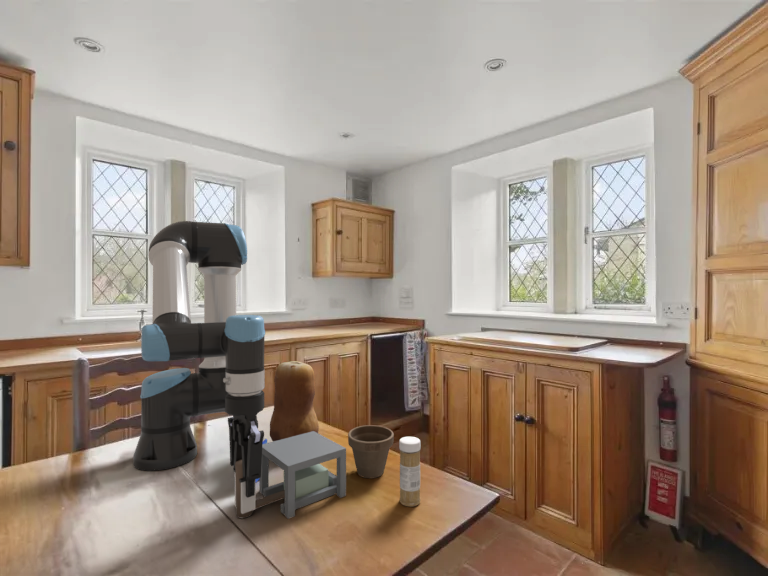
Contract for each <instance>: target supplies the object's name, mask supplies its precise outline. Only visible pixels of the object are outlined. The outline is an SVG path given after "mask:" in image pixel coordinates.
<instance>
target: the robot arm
mask: <svg viewBox="0 0 768 576" xmlns="http://www.w3.org/2000/svg"><path fill="white" fill-rule="evenodd" d="M246 239H247V238H246V235H245V233H244V230H243V229H242V227H241V226H239V225H237V224H236V225H235V224H229V223H226V222H224V223H222V222H204V221H192V220H191V221H190V220H183V221H182V220H181V221H176V222H173V223H170V224H168V225H167V226H165V227H164V228H162V229H160V230H159V231H158V233H157V234H155V235H154V236H153V238H152V240H151V242H150V244H149V246H148V255H147V256H148V261H149V263H150V264H151V266H152V319H151V320H152V321H151V322H152V324H146V325H144V326H142V328H141V340H140V341H141V342H140V345H141V346H140V348H141V349H140V350H141V352H140V353H141V358H142V360H143V361H146V362H168V361H179V360H190V359H191V360H193V359H203V361H202V362H201V363H200V364H198V372H195V373H194V372H193V373H192V371H191V370H190V369H191V368H187V367H182V368H179V367H178V368H171V369H167V370H162V371H159V372H156V373H153V374H150V375H148V376H147V377H145V378H144V379H143V380H142V382H141V392H140V395H139V396H140V397H139V398H140V399H141V406H140V407H141V412H140V413H141V414H140V418H141V419H140V423H141V424H140V429H141V430H140V436H139V438H138V442H137V444H136V448H135V450H134V452H133V457H132V459H133V460H132V462H133V463H132V466H133V467H134V468H135V469H137V470H140V471H147V472H148V471H151V472H152V471H162V470H169V469H173V468H177V467H178V466H182V465H184V464H187V463H188V462H191V461H192V460H194V459H195V458H196V457H197V455H198V445H197V442H196V439H195V436H194V433H193V430H192V428H191V417H199V416H204V415H212V414H217V413H220V414H221V413H226V414H227V415H229V416H230V417H227V424H228V438H229V463H230V464H229V465H230V466H231V467H232V470H233V473H234V507H236V473H235V463H236V461H238V460H240V459H242V469H243V478H240V479H239V481H240V483H241V513H242V514H244V513H246V512H249V511H252V510H253V511H254V510H256V509H255V500H256V483H255V481H256V479H258V478H261V464H262V443H263V438H265V432H264V429H263V430H259V421H258V417H257V415H258V413H260V412H262V411H263V410H264V409H265V392H264V389H265V387H266V386H265V383H266V382H265V380H266V378H265V375H266V372H265V370H266V369H265V338H266V337H265V335H266V329H265V320H264V317H263V316H262V315H258V314H257V315H255V314H238V315H237V275H238V274H239V273H240V272H241V271H242V265H246V263H247V261H248V245H247V240H246ZM189 263H190V264H192V263H193V264H197V269H198V271H199V272H200V273H201V274H202V275H203V288H204V289H203V291H204V292H203V294H204V295H203V299H204V301H203V302H204V303H203V306H204V308H203V310H204V313H203V315H204V316H203V318H204V320H203V321H204V322H192V317H191V306H190V305H191V304H190V295H189V294H190V293H189V292H190V291H189V282H188V271H187V270H188V269H187V265H188V264H189Z"/></svg>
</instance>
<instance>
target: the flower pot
mask: <svg viewBox="0 0 768 576" xmlns="http://www.w3.org/2000/svg"><path fill="white" fill-rule="evenodd" d="M394 436H395V434H394V432H393V430H391V428H389V427H386V426H381V425H373V424H371V425H368V424H367V425H360V426H356V427H354V428H352V429H350V430H349V432H348V434H347V441H348V442H347V443H348V446H349V447H350V448H351V449H352V455H353V461H354V464H355V469H356V471H357V474H358V476H360V477H362V478H365V479H377V478H379V477H381V476H382V475H383V474H384V471H385V468H386V465H387V460H388V456H389V454H390V453H389V451H390V448H391V447H392V446H393V445H394V440H395V439H394Z"/></svg>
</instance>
